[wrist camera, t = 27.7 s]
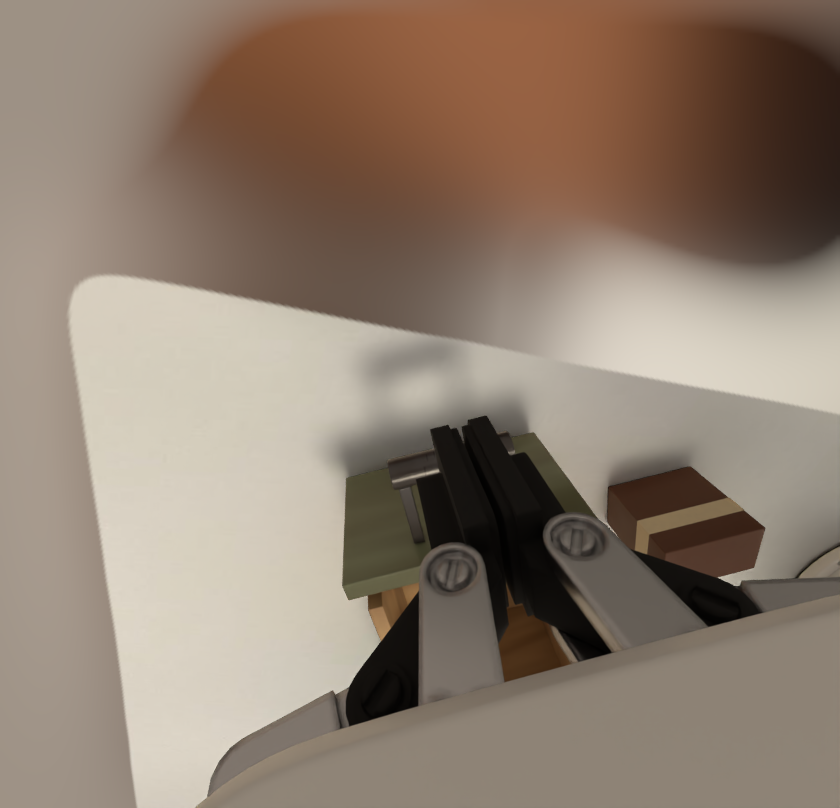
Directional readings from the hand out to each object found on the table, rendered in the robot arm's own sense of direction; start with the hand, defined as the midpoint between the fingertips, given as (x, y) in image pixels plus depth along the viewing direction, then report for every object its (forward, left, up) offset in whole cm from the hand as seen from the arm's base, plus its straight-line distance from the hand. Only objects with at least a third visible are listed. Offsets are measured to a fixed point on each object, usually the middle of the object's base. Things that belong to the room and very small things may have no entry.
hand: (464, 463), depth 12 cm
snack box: (-17, +19, -14) cm, 29 cm away
